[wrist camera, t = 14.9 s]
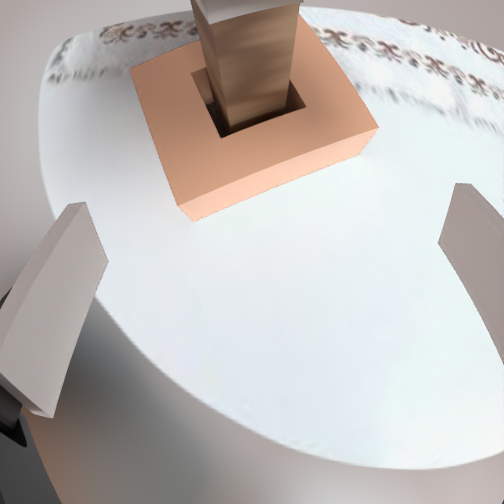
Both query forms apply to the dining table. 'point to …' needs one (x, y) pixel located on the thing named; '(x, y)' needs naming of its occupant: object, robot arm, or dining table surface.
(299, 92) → the terracotta holder
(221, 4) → the silver-capped wooden peg
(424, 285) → the dining table surface
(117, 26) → the dining table surface
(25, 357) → the robot arm
